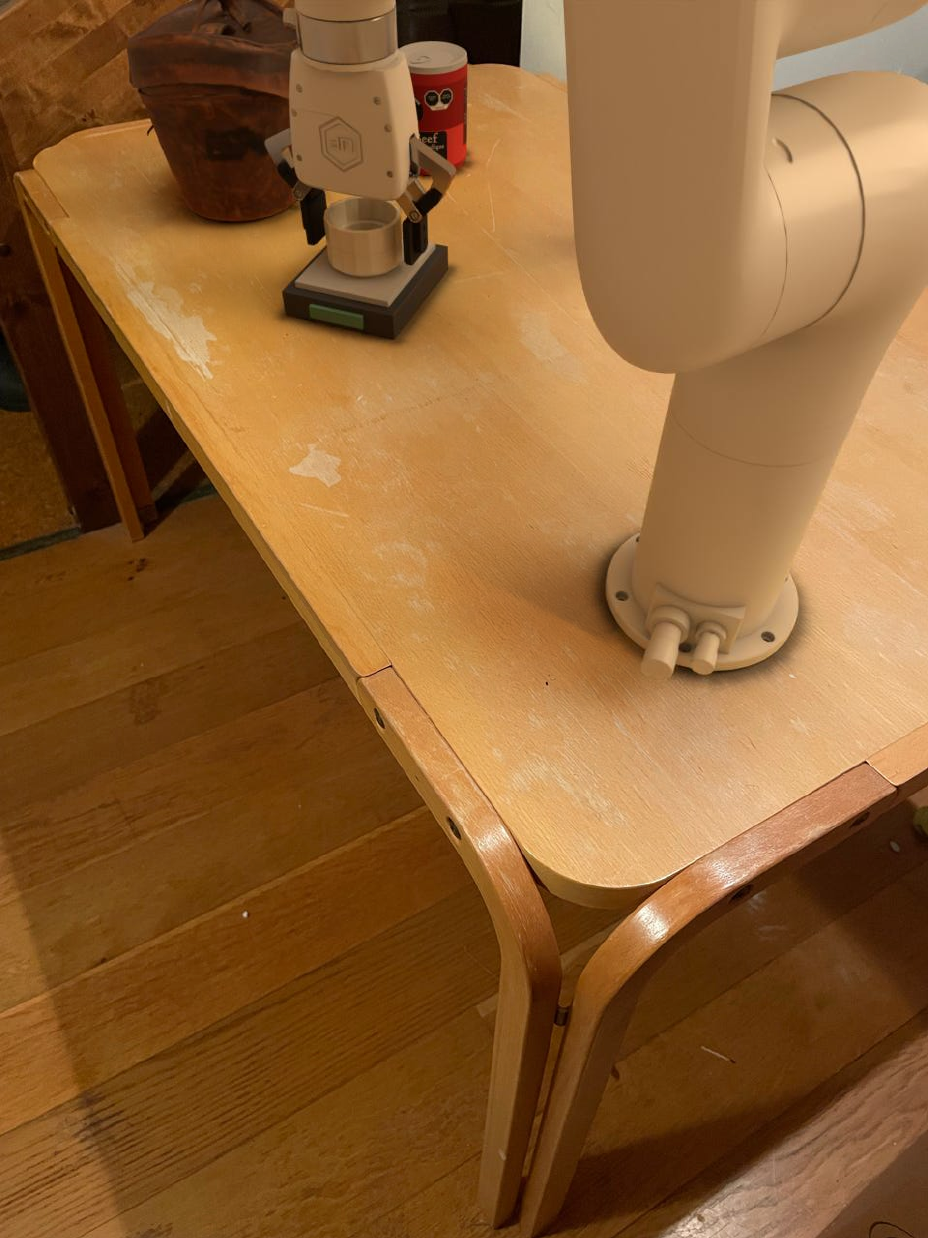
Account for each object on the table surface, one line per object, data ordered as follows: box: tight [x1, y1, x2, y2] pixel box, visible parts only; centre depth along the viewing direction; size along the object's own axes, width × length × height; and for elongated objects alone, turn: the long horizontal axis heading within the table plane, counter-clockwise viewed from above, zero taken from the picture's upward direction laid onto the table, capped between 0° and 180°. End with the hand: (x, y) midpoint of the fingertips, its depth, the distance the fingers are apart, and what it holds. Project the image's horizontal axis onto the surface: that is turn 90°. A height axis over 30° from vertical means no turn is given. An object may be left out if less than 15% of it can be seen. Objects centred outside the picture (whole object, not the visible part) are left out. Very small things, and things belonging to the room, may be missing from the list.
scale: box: [281, 236, 449, 340], centre depth 84 cm, size 14×11×3 cm
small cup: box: [324, 196, 403, 277], centre depth 81 cm, size 7×7×4 cm
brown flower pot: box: [125, 0, 300, 222], centre depth 90 cm, size 18×20×18 cm
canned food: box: [398, 40, 468, 176], centre depth 98 cm, size 8×8×11 cm
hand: (366, 248), depth 81 cm, fingers open, 9 cm apart
